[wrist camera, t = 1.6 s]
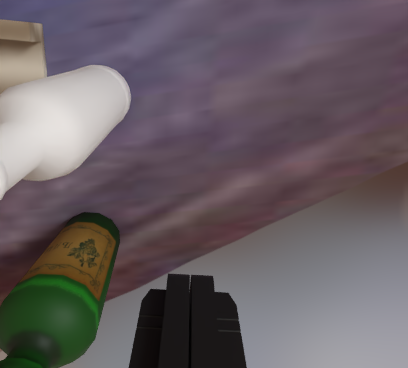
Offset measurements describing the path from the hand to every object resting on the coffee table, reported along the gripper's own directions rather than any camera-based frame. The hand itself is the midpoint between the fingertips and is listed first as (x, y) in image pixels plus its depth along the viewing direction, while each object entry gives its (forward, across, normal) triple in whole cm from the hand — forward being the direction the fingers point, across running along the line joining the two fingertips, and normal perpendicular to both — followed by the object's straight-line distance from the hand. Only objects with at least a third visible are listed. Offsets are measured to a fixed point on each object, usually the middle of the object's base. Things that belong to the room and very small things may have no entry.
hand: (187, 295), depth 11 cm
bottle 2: (+37, +14, +22) cm, 45 cm away
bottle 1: (+37, +12, 0) cm, 39 cm away
